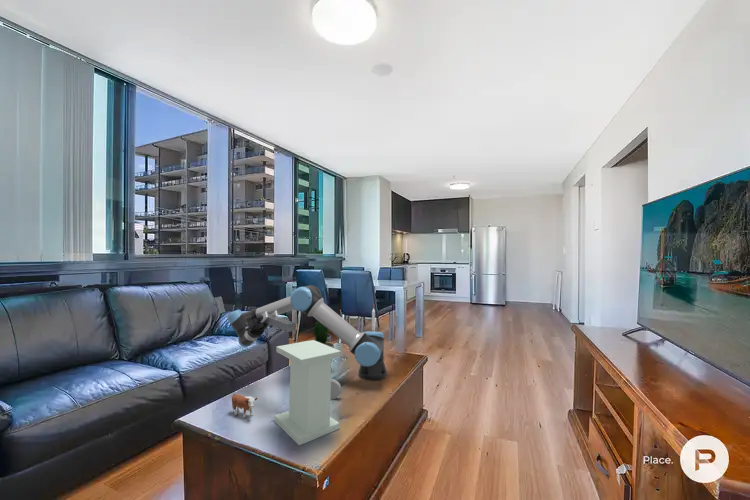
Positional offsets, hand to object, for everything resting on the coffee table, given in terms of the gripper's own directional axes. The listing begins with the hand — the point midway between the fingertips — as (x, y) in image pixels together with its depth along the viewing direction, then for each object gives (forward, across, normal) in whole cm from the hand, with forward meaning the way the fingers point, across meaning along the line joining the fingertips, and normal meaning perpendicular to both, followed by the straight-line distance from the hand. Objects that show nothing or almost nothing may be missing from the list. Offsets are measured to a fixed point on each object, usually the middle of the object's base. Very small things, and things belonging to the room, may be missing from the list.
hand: (271, 313), depth 141 cm
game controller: (-3, -16, -40) cm, 44 cm away
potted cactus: (-26, -32, -27) cm, 49 cm away
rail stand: (+12, 0, -48) cm, 50 cm away
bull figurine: (-7, +15, -38) cm, 41 cm away
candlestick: (-24, -69, -28) cm, 78 cm away
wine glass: (-39, -44, -19) cm, 62 cm away
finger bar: (+3, 0, -6) cm, 7 cm away
